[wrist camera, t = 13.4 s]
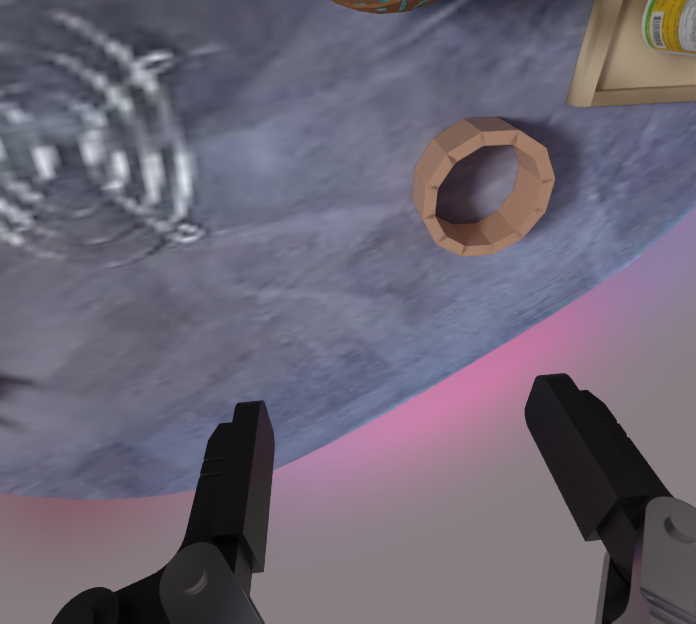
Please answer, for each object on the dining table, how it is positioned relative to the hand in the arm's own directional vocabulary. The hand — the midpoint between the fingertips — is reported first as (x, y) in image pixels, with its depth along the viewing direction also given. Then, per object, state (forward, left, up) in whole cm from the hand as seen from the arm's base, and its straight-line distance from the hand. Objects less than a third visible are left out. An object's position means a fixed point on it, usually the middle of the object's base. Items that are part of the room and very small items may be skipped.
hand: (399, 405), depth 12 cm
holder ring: (+3, +11, -27) cm, 30 cm away
